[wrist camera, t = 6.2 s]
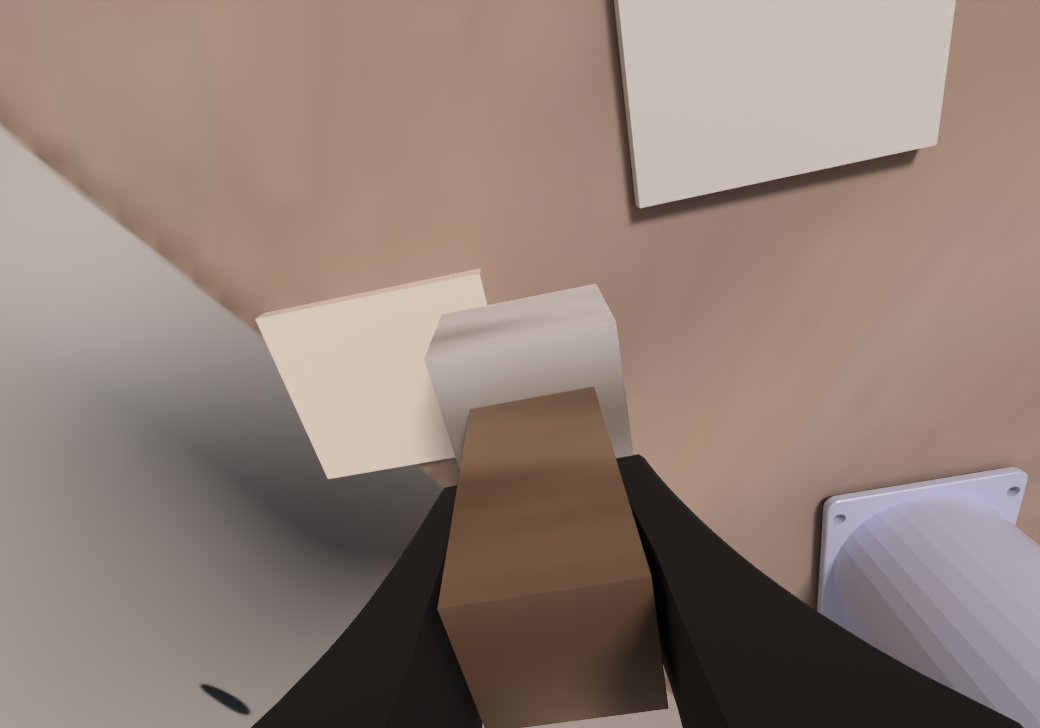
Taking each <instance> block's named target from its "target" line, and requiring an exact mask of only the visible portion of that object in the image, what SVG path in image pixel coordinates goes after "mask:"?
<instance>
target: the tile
mask: <svg viewBox="0 0 1040 728" xmlns="http://www.w3.org/2000/svg"><path fill="white" fill-rule="evenodd" d="M487 305H490V303H489V299H488V295H487V291H486V286H485V282H484V278H483V274H482V270H481V269H476V270H471V271H466V272H461V273H457V274H452V275H447V276H442V277H437V278H432V279H427V280H423V281H418V282H413V283H408V284H403V285H398V286H394V287H389V288H384V289H379V290H374V291H369V292H364V293H360V294H355V295H350V296H345V297H340V298H335V299H331V300H326V301H321V302H316V303H311V304H306V305H302V306H297V307H292V308H287V309H282V310H277V311H272V312H268V313H263V314H262V315H261V316H259V317H258V318H256V319H255V320H256V322H257V324H258V326H259V329H260V331H261V333H262V335H263V337H264V340H265V342H266V344H267V346H268V348H269V351H270V353H271V355H272V357H273V359H274V362H275V364H276V366H277V368H278V370H279V373H280V375H281V377H282V379H283V381H284V384H285V386H286V388H287V390H288V392H289V394H290V397H291V399H292V401H293V403H294V405H295V407H296V410H297V412H298V414H299V416H300V419H301V421H302V423H303V425H304V427H305V430H306V432H307V434H308V436H309V438H310V440H311V443H312V445H313V447H314V449H315V451H316V454H317V456H318V458H319V460H320V463H321V465H322V467H323V469H324V471H325V473H326V476H327V478H328V479H332V478H338V477H344V476H350V475H355V474H361V473H367V472H373V471H379V470H385V469H391V468H396V467H402V466H408V465H414V464H420V463H426V462H432V461H437V460H443V459H449V458H455V455H454V451H453V448H452V445H451V442H450V439H449V436H448V433H447V429H446V426H445V423H444V420H443V417H442V414H441V410H440V407H439V404H438V401H437V398H436V395H435V392H434V388H433V385H432V382H431V379H430V376H429V373H428V369H427V366H426V363H425V360H424V358H425V355H426V353H427V350H428V348H429V345H430V343H431V340H432V338H433V335H434V333H435V330H436V328H437V325H438V323H439V320H440V318H441V315H442V314H447V313H452V312H457V311H462V310H467V309H472V308H477V307H482V306H487Z"/></svg>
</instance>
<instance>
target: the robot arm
mask: <svg viewBox="0 0 1040 728" xmlns="http://www.w3.org/2000/svg"><path fill="white" fill-rule="evenodd" d="M616 461H617V464H618V467H619V471H620V474H621V477H622V481H623V484H624V487H625V491H626V494H627V497H628V500H629V504H630V507H631V510H632V514H633V517H634V520H635V524H636V527H637V530H638V533H639V537H640V540H641V543H642V547H643V550H644V553H645V557H646V560H647V563H648V567H649V570H650V573H651V576H652V584H653V592H654V600H655V607H656V615H657V623H658V631H659V639H660V646H661V654H662V662H663V665H664V668H665V671H666V673H667V676H668V679H669V682H670V685H671V688H672V691H673V695H674V698H675V701H676V704H677V707H678V711H679V715H680V718H681V722H682V726H683V728H1040V545H1038V544H1037V543H1036V542H1035V541H1033V540H1032V539H1031V538H1030V537H1028V536H1027V535H1026V534H1025V533H1023V532H1022V531H1021V530H1019V529H1018V528H1017V527H1016V526H1015V524H1016V520H1017V516H1018V513H1019V509H1020V506H1021V502H1022V498H1023V495H1024V491H1025V487H1026V484H1027V480H1028V476H1027V474H1026V473H1025V472H1023V471H1022V470H1020V469H1019V468H1016V467H1008V468H1002V469H996V470H990V471H984V472H978V473H972V474H966V475H959V476H953V477H947V478H941V479H935V480H929V481H923V482H916V483H910V484H904V485H898V486H892V487H886V488H880V489H873V490H867V491H861V492H855V493H849V494H843V495H837V496H833V497H830V498H829V499H827V501H826V502H825V503H824V507H823V522H822V539H821V555H820V571H819V587H818V604H817V611H816V610H814V609H813V608H811V607H810V606H808V605H807V604H805V603H804V602H803V601H801V600H800V599H798V598H797V597H795V596H794V595H793V594H791V593H790V592H788V591H787V590H786V589H784V588H783V587H781V586H780V585H778V584H777V583H776V582H774V581H773V580H772V579H770V578H769V577H768V576H766V575H765V574H764V573H762V572H761V571H760V570H759V569H757V568H756V567H755V566H753V565H752V564H751V563H750V562H748V561H747V560H746V559H745V558H743V557H742V556H741V555H740V554H739V553H737V552H736V551H735V550H734V549H733V548H731V547H730V546H729V545H728V544H727V543H726V542H725V541H723V540H722V539H721V538H720V537H719V536H718V535H716V534H715V533H714V532H713V531H712V530H711V529H710V528H709V527H708V526H707V525H706V524H704V523H703V522H702V521H701V520H700V519H699V518H698V517H697V516H696V515H695V514H694V513H693V512H692V511H691V510H690V509H689V508H688V507H687V506H686V505H685V504H684V503H683V502H682V501H681V500H680V499H679V498H678V497H677V496H676V495H675V494H674V493H673V492H672V491H671V489H670V488H669V487H668V486H667V485H666V484H665V483H664V482H663V481H662V479H661V478H660V477H659V476H658V475H657V474H656V472H655V471H654V470H653V469H652V468H651V466H650V465H649V464H648V462H647V461H646V460H645V458H643V457H642V456H640V455H639V454H638V455H632V456H626V457H621V458H616ZM456 492H457V486H453V487H447V488H444V490H443V491H442V492H441V494H440V495H439V497H438V498H437V500H436V502H435V503H434V505H433V507H432V508H431V510H430V511H429V513H428V515H427V517H426V518H425V520H424V521H423V523H422V525H421V526H420V528H419V529H418V531H417V532H416V534H415V536H414V537H413V539H412V540H411V542H410V544H409V545H408V546H407V548H406V549H405V551H404V552H403V554H402V555H401V557H400V558H399V560H398V561H397V563H396V564H395V566H394V567H393V569H392V570H391V572H390V573H389V574H388V576H387V577H386V578H385V580H384V581H383V583H382V584H381V585H380V586H379V588H378V589H377V591H376V592H375V593H374V595H373V596H372V598H371V599H370V600H369V602H368V603H367V604H366V605H365V607H364V608H363V609H362V610H361V612H360V613H359V614H358V616H357V617H356V618H355V619H354V621H353V622H352V623H351V624H350V625H349V627H348V628H347V629H346V630H345V631H344V632H343V634H342V635H341V636H340V637H339V638H338V639H337V641H336V642H335V643H334V644H333V645H332V646H331V647H330V649H329V650H328V651H327V652H326V653H325V654H324V655H323V656H322V657H321V658H320V659H319V661H318V662H317V663H316V664H315V665H314V666H313V667H312V668H311V669H310V670H309V671H308V672H307V673H306V674H305V675H304V676H303V677H302V678H301V679H300V680H299V681H298V682H297V683H296V684H295V685H294V686H293V687H292V688H291V689H290V690H289V691H288V692H287V694H286V695H285V696H284V697H283V698H282V699H281V700H280V701H279V702H278V703H277V704H276V705H275V706H274V707H273V708H271V709H270V710H269V711H268V712H267V713H266V714H265V715H264V716H263V717H262V718H261V719H260V720H259V721H258V722H257V723H255V725H253V726H252V727H251V728H482V720H481V717H480V715H479V712H478V710H477V707H476V705H475V702H474V700H473V697H472V695H471V692H470V690H469V687H468V685H467V682H466V680H465V677H464V675H463V672H462V670H461V667H460V665H459V662H458V660H457V657H456V655H455V652H454V650H453V647H452V645H451V642H450V640H449V637H448V635H447V632H446V630H445V627H444V625H443V622H442V620H441V617H440V615H439V612H438V610H437V608H438V602H439V596H440V590H441V584H442V577H443V571H444V565H445V559H446V553H447V547H448V541H449V534H450V528H451V522H452V516H453V510H454V504H455V498H456ZM837 515H838V516H837ZM836 516H837V517H836Z"/></svg>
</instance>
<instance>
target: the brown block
mask: <svg viewBox="0 0 1040 728" xmlns="http://www.w3.org/2000/svg"><path fill="white" fill-rule="evenodd" d="M424 360H425V363H426V366H427V369H428V373H429V376H430V379H431V382H432V385H433V388H434V392H435V395H436V398H437V401H438V404H439V407H440V410H441V414H442V417H443V420H444V423H445V426H446V429H447V433H448V436H449V439H450V442H451V445H452V448H453V451H454V455H455V458H456V461H457V464H458V467H459V470H460V473H459V479H458V485H457V492H456V498H455V504H454V510H453V516H452V522H451V528H450V534H449V541H448V547H447V553H446V559H445V565H444V571H443V577H442V584H441V590H440V596H439V602H438V608H437V610H438V612H439V615H440V617H441V620H442V622H443V625H444V627H445V630H446V632H447V635H448V637H449V640H450V642H451V645H452V647H453V650H454V652H455V655H456V657H457V660H458V662H459V665H460V667H461V670H462V672H463V675H464V677H465V680H466V682H467V685H468V687H469V690H470V692H471V695H472V697H473V700H474V702H475V705H476V707H477V710H478V712H479V715H480V717H481V720H482V722H483V725H484V727H485V728H522V727H530V726H538V725H545V724H553V723H560V722H568V721H575V720H583V719H591V718H599V717H607V716H613V715H614V716H615V715H622V714H630V713H638V712H645V711H652V710H661V709H668V702H667V693H666V685H665V678H664V670H663V662H662V654H661V646H660V639H659V631H658V623H657V615H656V607H655V600H654V592H653V584H652V576H651V573H650V570H649V567H648V563H647V560H646V557H645V553H644V550H643V547H642V543H641V540H640V537H639V533H638V530H637V527H636V524H635V520H634V517H633V514H632V510H631V507H630V504H629V500H628V497H627V494H626V491H625V487H624V484H623V481H622V477H621V474H620V471H619V467H618V464H617V461H616V458H621V457H626V456H632V455H633V449H632V441H631V433H630V426H629V418H628V410H627V403H626V395H625V387H624V380H623V372H622V364H621V357H620V349H619V341H618V334H617V326H616V321H615V319H614V317H613V315H612V313H611V311H610V309H609V308H608V306H607V304H606V302H605V300H604V298H603V296H602V294H601V292H600V290H599V288H598V286H597V284H592V285H587V286H582V287H577V288H572V289H567V290H562V291H557V292H552V293H547V294H542V295H537V296H532V297H527V298H522V299H517V300H512V301H507V302H502V303H497V304H492V305H487V306H482V307H477V308H472V309H467V310H462V311H457V312H452V313H447V314H442V315H441V318H440V320H439V323H438V325H437V328H436V330H435V333H434V335H433V338H432V340H431V343H430V345H429V348H428V350H427V353H426V355H425V358H424Z"/></svg>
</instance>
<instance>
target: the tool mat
mask: <svg viewBox="0 0 1040 728" xmlns="http://www.w3.org/2000/svg"><path fill="white" fill-rule="evenodd" d="M955 3H956V0H614V7H615V17H616V26H617V35H618V45H619V54H620V63H621V73H622V82H623V92H624V101H625V110H626V120H627V129H628V139H629V148H630V157H631V167H632V176H633V185H634V195H635V204H636V206H637V207H638V208H644V207H649V206H653V205H658V204H663V203H667V202H672V201H677V200H681V199H686V198H691V197H696V196H700V195H705V194H710V193H714V192H719V191H724V190H728V189H733V188H738V187H742V186H747V185H752V184H756V183H761V182H766V181H770V180H775V179H780V178H784V177H789V176H794V175H798V174H803V173H808V172H812V171H817V170H822V169H826V168H831V167H836V166H841V165H845V164H850V163H855V162H859V161H864V160H869V159H873V158H878V157H883V156H887V155H892V154H897V153H901V152H906V151H911V150H915V149H920V148H925V147H929V146H934V145H937V139H938V131H939V124H940V116H941V109H942V101H943V94H944V86H945V78H946V71H947V63H948V56H949V48H950V41H951V33H952V25H953V18H954V10H955Z"/></svg>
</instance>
